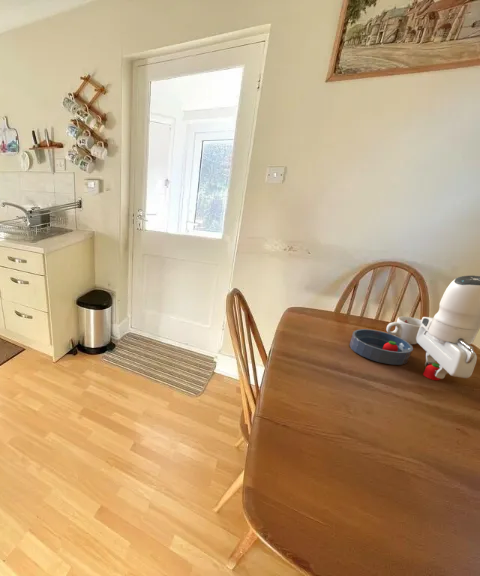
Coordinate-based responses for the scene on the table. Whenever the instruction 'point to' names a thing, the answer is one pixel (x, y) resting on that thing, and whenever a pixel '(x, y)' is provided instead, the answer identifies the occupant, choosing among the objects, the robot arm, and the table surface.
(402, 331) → the cup
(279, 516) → the table surface
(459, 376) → the robot arm
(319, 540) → the table surface
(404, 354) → the bowl
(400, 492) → the table surface
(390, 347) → the strawberry
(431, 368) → the strawberry
